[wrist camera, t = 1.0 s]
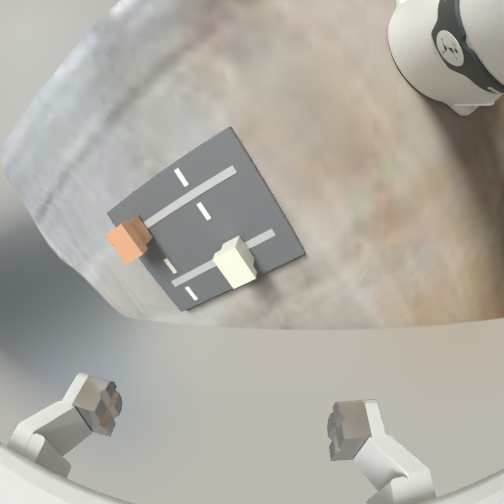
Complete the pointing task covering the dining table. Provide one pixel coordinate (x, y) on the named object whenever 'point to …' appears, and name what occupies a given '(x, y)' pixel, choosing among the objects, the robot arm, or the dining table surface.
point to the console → (207, 219)
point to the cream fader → (235, 262)
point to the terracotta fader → (130, 239)
